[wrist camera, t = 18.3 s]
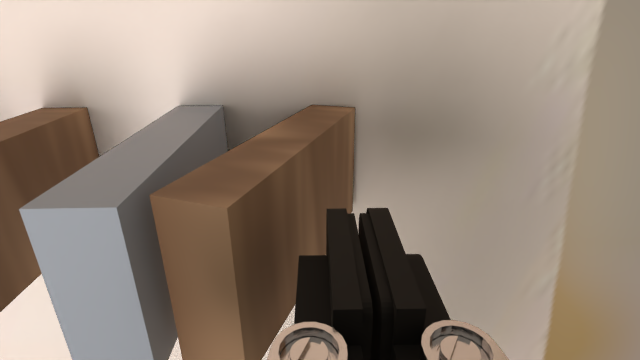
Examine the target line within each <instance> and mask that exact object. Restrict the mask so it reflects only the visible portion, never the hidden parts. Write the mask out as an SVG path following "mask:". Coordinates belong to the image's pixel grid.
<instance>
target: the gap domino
mask: <svg viewBox="0 0 640 360" xmlns="http://www.w3.org/2000/svg"><path fill="white" fill-rule="evenodd" d="M226 152H228V147H227V137H226V128H225V119H224V110H223V105H206V106H177V107H176V108H174V109H172V110H171V111H169V112H168V113H166V114H165V115H163V116H162V117H160V118H159V119H157V120H155V121H154V122H152V123H151V124H149V125H148V126H146V127H145V128H143V129H142V130H140V131H138V132H137V133H135V134H134V135H132V136H131V137H129V138H128V139H126V140H125V141H123V142H122V143H120V144H118V145H117V146H115V147H114V148H112V149H111V150H109V151H108V152H106V153H105V154H103V155H101V156H100V157H98V158H97V159H95V160H94V161H92V162H91V163H89V164H88V165H86V166H84V167H83V168H81V169H80V170H78V171H77V172H75V173H74V174H72V175H71V176H69V177H67V178H66V179H64V180H63V181H61V182H60V183H58V184H57V185H55V186H54V187H52V188H51V189H49V190H47V191H46V192H44V193H43V194H41V195H40V196H38V197H37V198H35V199H34V200H32V201H30V202H29V203H27V204H26V205H24V206H23V207H21V208H20V209H19V211H20V214H21V217H22V219H23V222H24V225H25V228H26V231H27V233H28V236H29V239H30V242H31V245H32V247H33V250H34V253H35V256H36V259H37V262H38V264H39V267H40V270H41V273H42V276H43V278H44V281H45V284H46V287H47V290H48V292H49V295H50V298H51V301H52V304H53V306H54V309H55V312H56V315H57V318H58V320H59V323H60V326H61V329H62V332H63V334H64V337H65V340H66V343H67V346H68V349H69V351H70V354H71V357H72V360H168V359H169V356H170V354H171V352H172V349H173V347H174V345H175V342H176V340H177V338H178V334H177V329H176V324H175V319H174V314H173V309H172V304H171V300H170V295H169V290H168V285H167V280H166V275H165V270H164V265H163V260H162V255H161V250H160V245H159V240H158V235H157V231H156V226H155V221H154V216H153V211H152V206H151V201H150V196H149V195H150V194H152V193H154V192H155V191H157V190H159V189H161V188H163V187H164V186H166V185H168V184H170V183H172V182H173V181H175V180H177V179H179V178H181V177H182V176H184V175H186V174H188V173H190V172H191V171H193V170H195V169H197V168H199V167H201V166H202V165H204V164H206V163H208V162H210V161H211V160H213V159H215V158H217V157H219V156H220V155H222V154H224V153H226Z"/></svg>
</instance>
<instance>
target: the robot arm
mask: <svg viewBox="0 0 640 360" xmlns="http://www.w3.org/2000/svg"><path fill="white" fill-rule="evenodd" d="M267 360H509V359H508V358H507V357H506V355H505V354H504V353H503V351H502V350H501V349H500V347H499V346H498V345H497V343H496V342H495V341H494V340H493V339H492V338H491V337H490V336H489V335H488V334H487V333H485V332H484V331H482V330H481V329H479V328H478V327H475V326H473V325H471V324H468V323H465V322H461V321H456V320H450V318H449V315H448V313H447V311H446V309H445V306H444V304H443V302H442V300H441V298H440V295H439V293H438V291H437V289H436V286H435V284H434V282H433V280H432V278H431V275H430V273H429V271H428V269H427V266H426V264H425V262H424V260H423V258H422V256H421V255H419V254H405V251H404V249H403V246H402V244H401V241H400V238H399V236H398V233H397V231H396V228H395V225H394V223H393V220H392V218H391V215H390V212H389V210H388V208H367V212H366V213H360V215H359V235H358V230H357V225H356V220H355V215H354V213H351V214H347V210H346V208H337V209H327V211H326V255H299V261H298V276H297V291H296V306H295V321H294V325H291V326H290V327H288V328H286V329H284V330H283V331H282V332H281V333H280V334H279V335H278V336H276V338H275V340H274V342H273V343H272V345H271V348H270V351H269V354H268V357H267Z"/></svg>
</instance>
